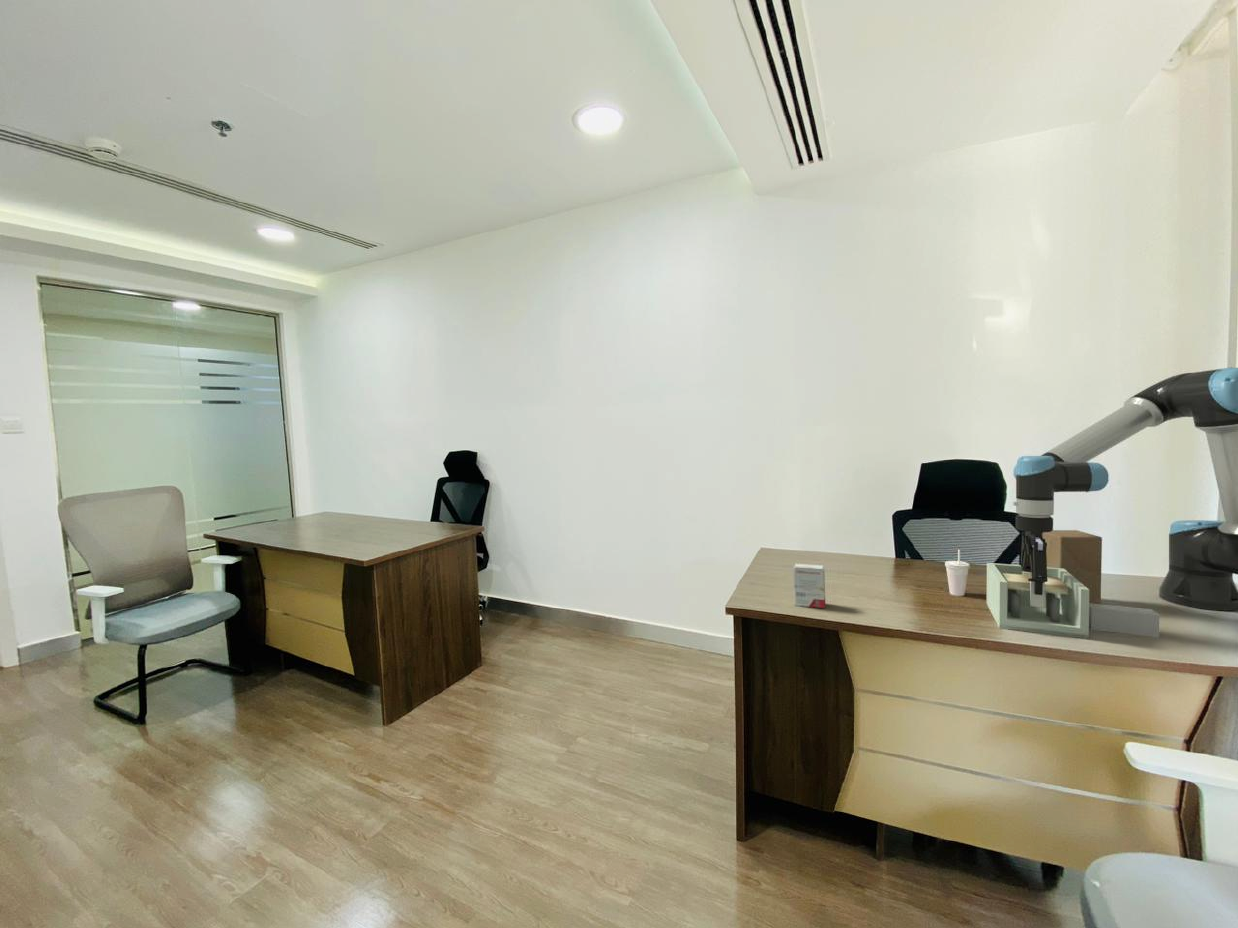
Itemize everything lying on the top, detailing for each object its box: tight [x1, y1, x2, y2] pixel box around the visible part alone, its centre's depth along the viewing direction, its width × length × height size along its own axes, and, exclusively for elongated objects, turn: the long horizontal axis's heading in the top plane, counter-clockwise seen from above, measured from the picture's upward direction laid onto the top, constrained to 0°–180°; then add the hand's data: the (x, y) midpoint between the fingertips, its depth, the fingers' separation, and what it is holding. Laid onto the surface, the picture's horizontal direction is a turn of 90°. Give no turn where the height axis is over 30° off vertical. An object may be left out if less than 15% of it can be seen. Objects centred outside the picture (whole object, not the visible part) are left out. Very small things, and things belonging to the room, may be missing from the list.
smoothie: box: [944, 548, 971, 597], centre depth 152 cm, size 6×6×14 cm
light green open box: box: [986, 562, 1090, 640], centre depth 130 cm, size 17×20×12 cm
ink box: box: [793, 563, 826, 609], centre depth 147 cm, size 9×5×12 cm, turn 65°
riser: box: [1089, 603, 1160, 639], centre depth 122 cm, size 12×4×6 cm, turn 61°
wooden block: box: [1042, 529, 1103, 604], centre depth 142 cm, size 10×10×20 cm
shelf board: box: [1001, 573, 1068, 594], centre depth 130 cm, size 12×8×2 cm, turn 61°
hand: (1032, 600), depth 130 cm, fingers closed on shelf board, 8 cm apart
